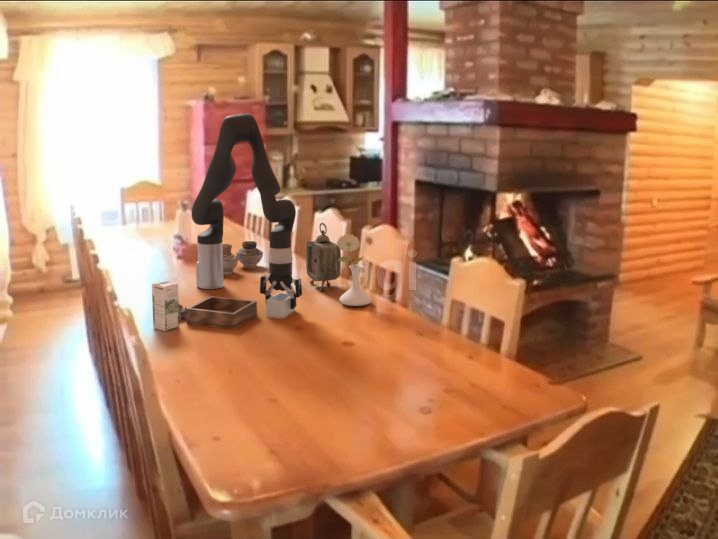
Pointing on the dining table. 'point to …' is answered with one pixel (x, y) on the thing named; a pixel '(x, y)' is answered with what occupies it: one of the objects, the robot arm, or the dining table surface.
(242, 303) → the walnut crate
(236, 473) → the dining table surface
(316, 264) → the tabletop clock
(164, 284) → the syrup box
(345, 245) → the flower in vase
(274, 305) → the small crate
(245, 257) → the pottery
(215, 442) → the dining table surface
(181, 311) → the egg carton
